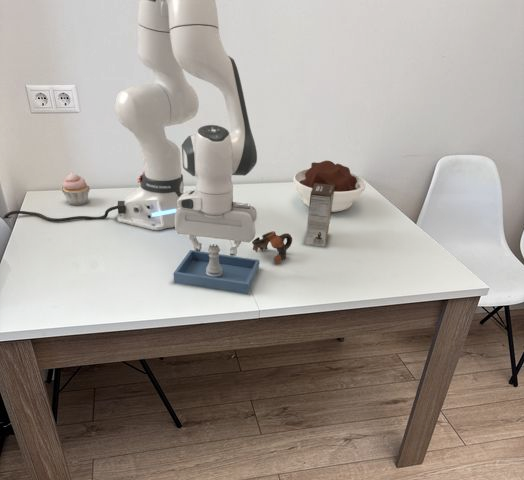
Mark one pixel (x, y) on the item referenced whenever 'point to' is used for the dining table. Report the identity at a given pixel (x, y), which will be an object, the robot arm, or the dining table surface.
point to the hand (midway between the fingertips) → (215, 252)
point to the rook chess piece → (214, 262)
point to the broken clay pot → (274, 244)
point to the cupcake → (75, 189)
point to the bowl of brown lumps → (330, 183)
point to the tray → (232, 279)
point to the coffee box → (319, 214)
